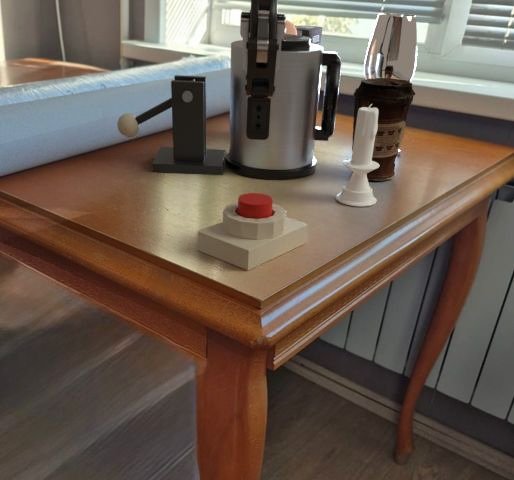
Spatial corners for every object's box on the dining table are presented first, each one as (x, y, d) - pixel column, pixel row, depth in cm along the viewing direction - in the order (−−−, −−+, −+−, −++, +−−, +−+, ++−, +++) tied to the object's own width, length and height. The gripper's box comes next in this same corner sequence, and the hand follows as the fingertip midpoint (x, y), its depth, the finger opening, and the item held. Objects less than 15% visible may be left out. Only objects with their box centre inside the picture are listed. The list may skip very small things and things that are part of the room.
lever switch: (123, 143, 87) (111, 122, 86) (127, 137, 90) (115, 117, 88) (202, 101, 84) (191, 78, 82) (204, 96, 87) (193, 74, 85)
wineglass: (373, 142, 106) (392, 11, 95) (410, 152, 101) (434, 16, 90) (344, 149, 101) (360, 12, 90) (381, 160, 97) (403, 17, 86)
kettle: (223, 177, 86) (225, 24, 75) (227, 151, 97) (229, 15, 87) (334, 182, 86) (352, 30, 76) (325, 155, 97) (339, 20, 87)
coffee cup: (410, 185, 86) (428, 87, 79) (354, 185, 85) (367, 86, 78) (389, 167, 94) (403, 75, 87) (337, 167, 92) (347, 74, 85)
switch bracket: (152, 172, 86) (147, 82, 80) (160, 154, 94) (157, 71, 88) (222, 174, 87) (223, 86, 80) (225, 157, 94) (226, 75, 88)
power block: (247, 271, 61) (249, 233, 59) (197, 250, 64) (197, 214, 62) (306, 243, 67) (309, 208, 65) (258, 225, 71) (259, 192, 69)
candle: (364, 192, 83) (377, 98, 76) (384, 205, 79) (399, 108, 72) (328, 195, 81) (339, 100, 75) (347, 208, 77) (360, 109, 71)
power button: (256, 223, 62) (257, 207, 61) (230, 214, 64) (230, 198, 63) (278, 214, 64) (279, 198, 63) (252, 206, 66) (253, 190, 65)
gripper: (225, -77, 56) (222, 120, 65) (217, -84, 45) (215, 154, 54) (307, -72, 56) (292, 124, 65) (319, -78, 45) (299, 158, 54)
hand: (257, 137), depth 60 cm, fingers closed
